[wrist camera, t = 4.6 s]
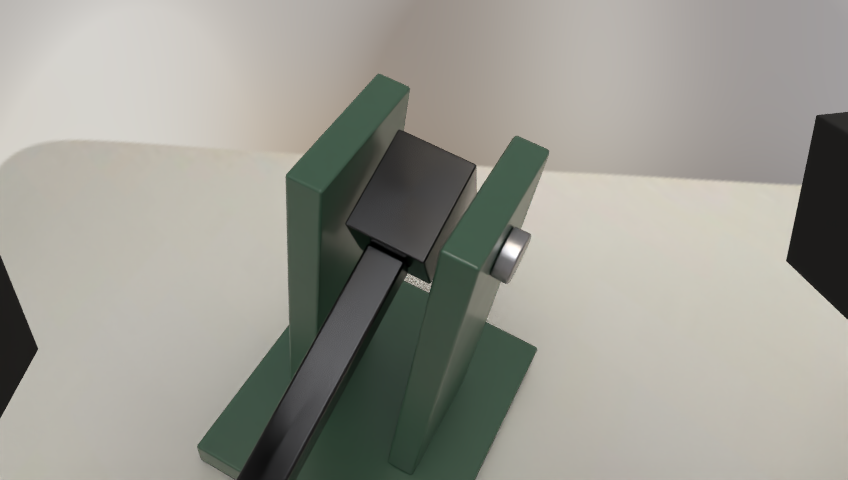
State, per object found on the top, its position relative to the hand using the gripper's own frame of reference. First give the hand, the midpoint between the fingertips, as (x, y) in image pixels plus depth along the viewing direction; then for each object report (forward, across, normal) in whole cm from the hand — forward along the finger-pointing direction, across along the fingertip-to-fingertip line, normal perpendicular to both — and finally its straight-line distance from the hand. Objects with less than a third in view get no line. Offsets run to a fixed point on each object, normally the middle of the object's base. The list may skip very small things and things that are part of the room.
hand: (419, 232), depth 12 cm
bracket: (+11, -1, -14) cm, 18 cm away
